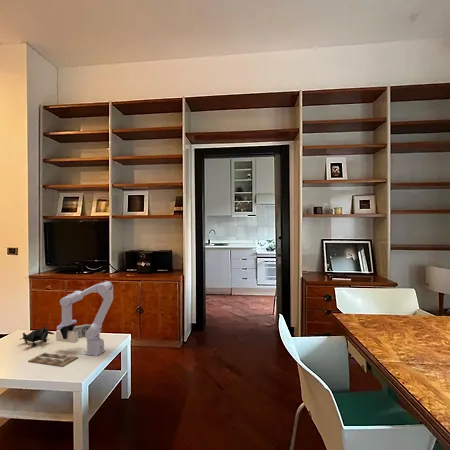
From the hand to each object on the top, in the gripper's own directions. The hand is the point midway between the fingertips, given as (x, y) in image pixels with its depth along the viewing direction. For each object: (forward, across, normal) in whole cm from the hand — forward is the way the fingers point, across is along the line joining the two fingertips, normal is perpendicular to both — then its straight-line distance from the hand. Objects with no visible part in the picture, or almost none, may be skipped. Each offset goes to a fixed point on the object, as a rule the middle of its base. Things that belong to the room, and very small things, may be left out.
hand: (67, 337), depth 209 cm
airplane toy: (+9, -6, -30) cm, 32 cm away
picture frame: (+9, +12, +1) cm, 15 cm away
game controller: (+9, -24, -12) cm, 28 cm away
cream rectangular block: (+2, 0, 0) cm, 2 cm away
